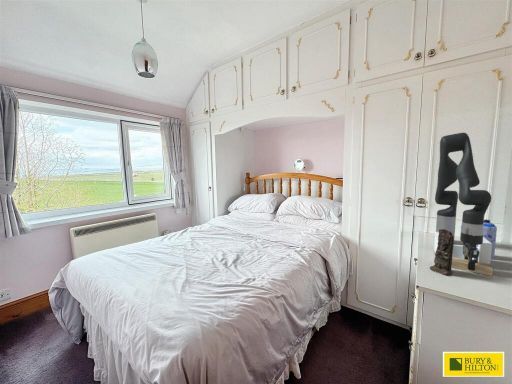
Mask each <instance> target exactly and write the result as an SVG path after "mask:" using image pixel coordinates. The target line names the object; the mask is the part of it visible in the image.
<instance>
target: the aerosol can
mask: <svg viewBox="0 0 512 384" xmlns="http://www.w3.org/2000/svg"><path fill="white" fill-rule="evenodd" d="M483 226H484V233H483V237H484V238H485V239H487V240H488V241H489V242H490V243H492V251H491V260H495V251H496V240H497V232H498V229H497V226H496V225H495V224H494V223H492V222H491V220H490V219H484V223H483ZM476 247H478V245H476Z"/></svg>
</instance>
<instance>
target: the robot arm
mask: <svg viewBox="0 0 512 384" xmlns="http://www.w3.org/2000/svg"><path fill="white" fill-rule="evenodd" d="M456 152H462V158H461V160H460V161H459V163H457V162H455V161H454V160H453V159H452V158H451V157H450V156H449V154H450V153H456ZM456 181H458V185H459V187H458V189H459V190H458V191H456V190H447V189H448V188H449V187H450V186H452V185H453V184H455V183H456ZM479 184H480V178H479V176H478V173H477V170H476V167H475V162H474V154H473V150H472V143H471V138H470V137H469V134H467V133H466V132H458V133H453V134H446V135H444V136H442V137H440V140H439V164H438V171H437V185H436V191H435V194H434V202H435V204H437V205H442V206H447V208H441V209H439V210H437V211H436V226H435V232H439V229H446V230H448V231H450V232H451V233H452V235H453V237H454V239H455V236H456V223H457V222H456V221H457V209H458V207H457V206H458V200H459V202H460V203H461V204H462V205H464V206H473V207H472V208H471V209H465V210H463V212H462V220H461V225H460V234H459V235H460V236H459V240H460V242H461V243H462V246H463V254H464V259H465V260H468V269H469V270H473V271H474V270H475V263H478V257H479V251H478V248H476V245H481V244H483V233H484V226H483V223H484V220H485V214H486V213H487V210H488V208H489V206H490V204H491V203H492V202H491V201H492V195H491V192H489V191H488V190H486V189H471V188H475V187H477V186H479ZM472 258H474V260H472Z"/></svg>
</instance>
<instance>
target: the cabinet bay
mask: <svg viewBox="0 0 512 384" xmlns="http://www.w3.org/2000/svg"><path fill="white" fill-rule="evenodd" d="M438 236H439V232H436V231H435V232H434V246H433V247H434V248H433V249H434V250H433V254H434V255H435V253H436V250H437V246H438ZM476 248H478V251H479V257H478V262H482V263H488V264H490V265H491V260H492V259H491V251H492V243H490V242H489V241H488V240H487V239H485V238H484V237H483V244H481V245H478V247H476ZM452 257H454V258H459V259H464V254H463V245H460V244H454V246H453V255H452ZM472 260H474V258H472Z"/></svg>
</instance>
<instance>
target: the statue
mask: <svg viewBox="0 0 512 384" xmlns="http://www.w3.org/2000/svg"><path fill="white" fill-rule="evenodd" d="M454 245H455V238H454V237H453V235H452V233H451V232H450V231H448V230H446V229H439V236H438V246H437V250H436V253H435V254H434V260H433V263H434V264H433V265H431V266H429V270H430V271H433V272H435V271H436V273H438V272H439V274H442V275H444V276H449V275H452V274H453V272H452V268H451V265H452V255H453V246H454Z"/></svg>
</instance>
